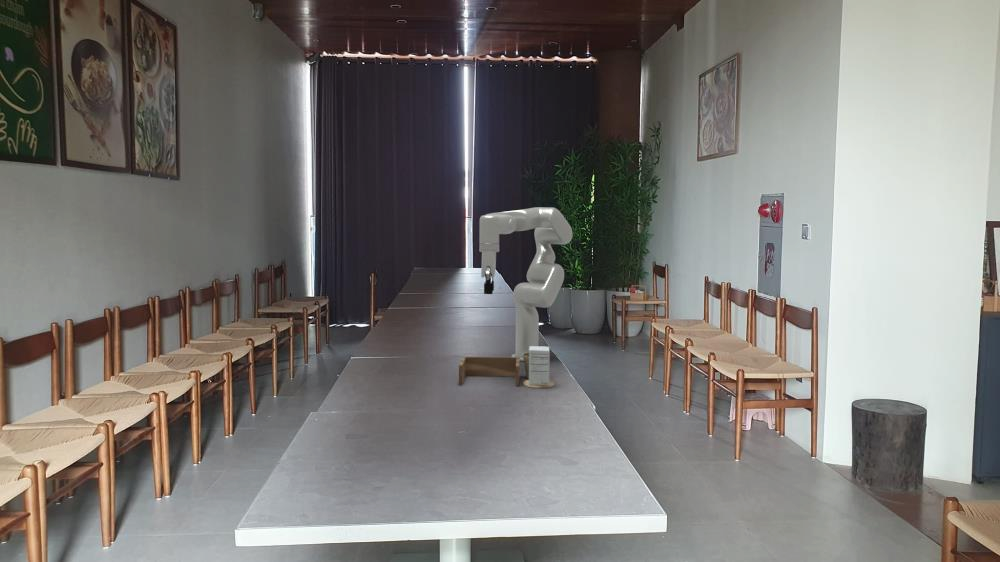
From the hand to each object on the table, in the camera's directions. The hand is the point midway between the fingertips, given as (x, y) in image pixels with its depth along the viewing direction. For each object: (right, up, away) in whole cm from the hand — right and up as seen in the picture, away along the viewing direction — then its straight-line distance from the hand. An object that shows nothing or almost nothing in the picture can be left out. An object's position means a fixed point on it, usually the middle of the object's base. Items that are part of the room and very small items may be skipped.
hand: (488, 292), depth 288 cm
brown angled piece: (+1, -32, -13) cm, 35 cm away
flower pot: (+17, -32, -8) cm, 37 cm away
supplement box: (+18, -32, -19) cm, 41 cm away
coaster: (+18, -33, -18) cm, 42 cm away
